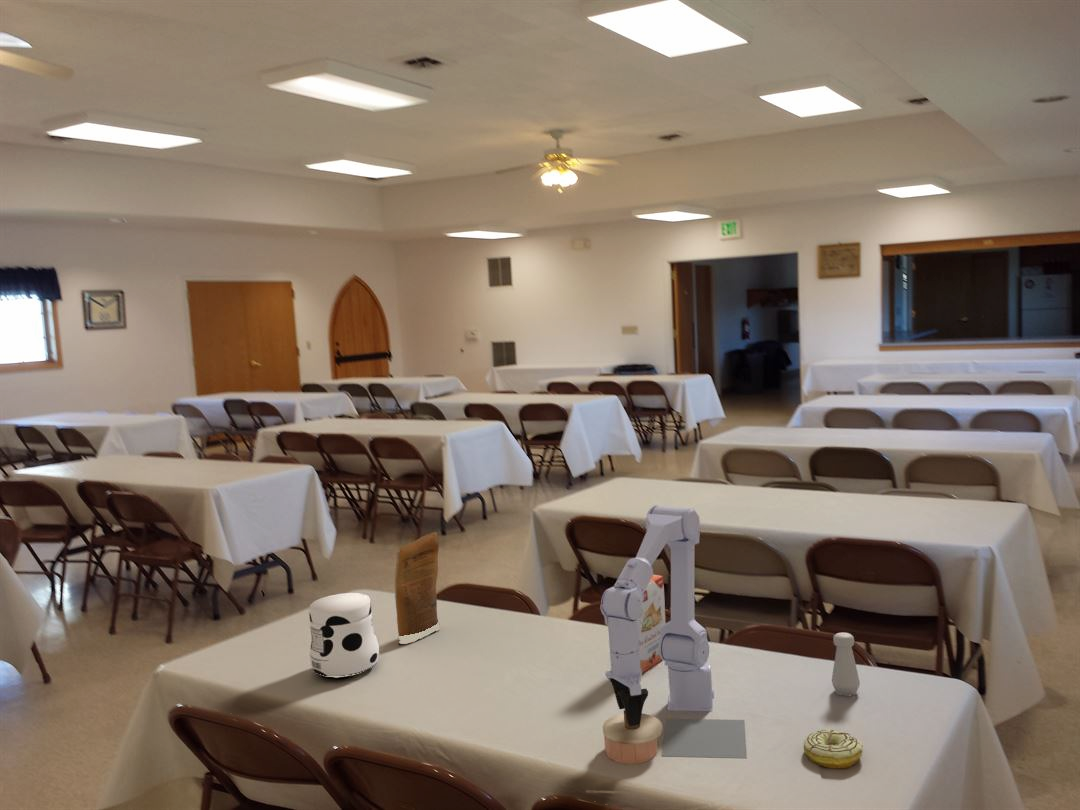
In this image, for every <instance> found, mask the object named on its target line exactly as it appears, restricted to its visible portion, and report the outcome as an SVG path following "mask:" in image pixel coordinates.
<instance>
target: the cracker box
mask: <svg viewBox="0 0 1080 810" xmlns="http://www.w3.org/2000/svg"><path fill="white" fill-rule="evenodd" d="M664 581H665V580H664V576H663V575H659V574H653V576H652V578H651V580H650V582H649V584H648V586H647V588H646V589H645V591H644V593H643V595H644V600H643V604H642V611H641V614H640V615H639V617H638V618H637V622H638V637H639V652H640V667H641V669H642V674H644V673H645V672H647V671H648V670H649V669H651V668H652V667H654V666H655V665H657V664H658V663H660V662H661V661H663V660H662V659H661V657H660V655H659V652H658V643H659V639H660V634H661V628H662V627H663V626H664V625H665V624H666V623H667V622H666V606H665V605H666V604H665V587H664Z"/></svg>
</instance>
